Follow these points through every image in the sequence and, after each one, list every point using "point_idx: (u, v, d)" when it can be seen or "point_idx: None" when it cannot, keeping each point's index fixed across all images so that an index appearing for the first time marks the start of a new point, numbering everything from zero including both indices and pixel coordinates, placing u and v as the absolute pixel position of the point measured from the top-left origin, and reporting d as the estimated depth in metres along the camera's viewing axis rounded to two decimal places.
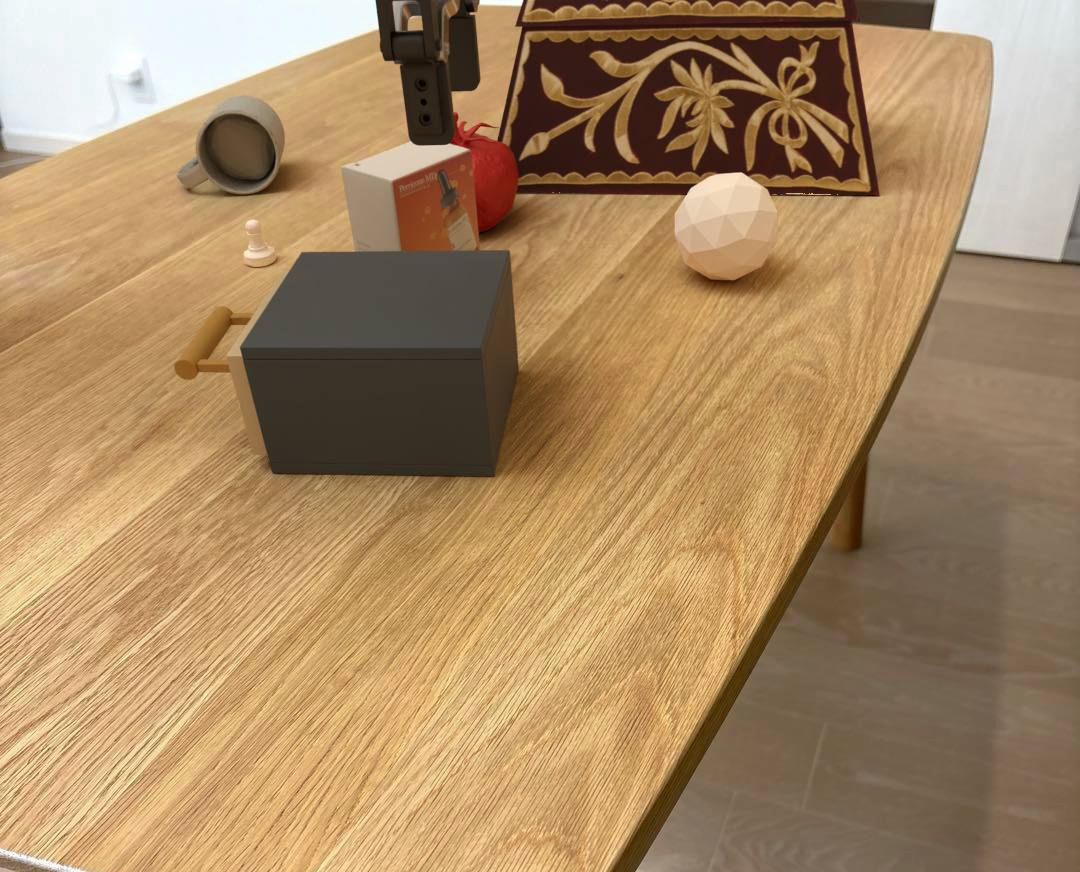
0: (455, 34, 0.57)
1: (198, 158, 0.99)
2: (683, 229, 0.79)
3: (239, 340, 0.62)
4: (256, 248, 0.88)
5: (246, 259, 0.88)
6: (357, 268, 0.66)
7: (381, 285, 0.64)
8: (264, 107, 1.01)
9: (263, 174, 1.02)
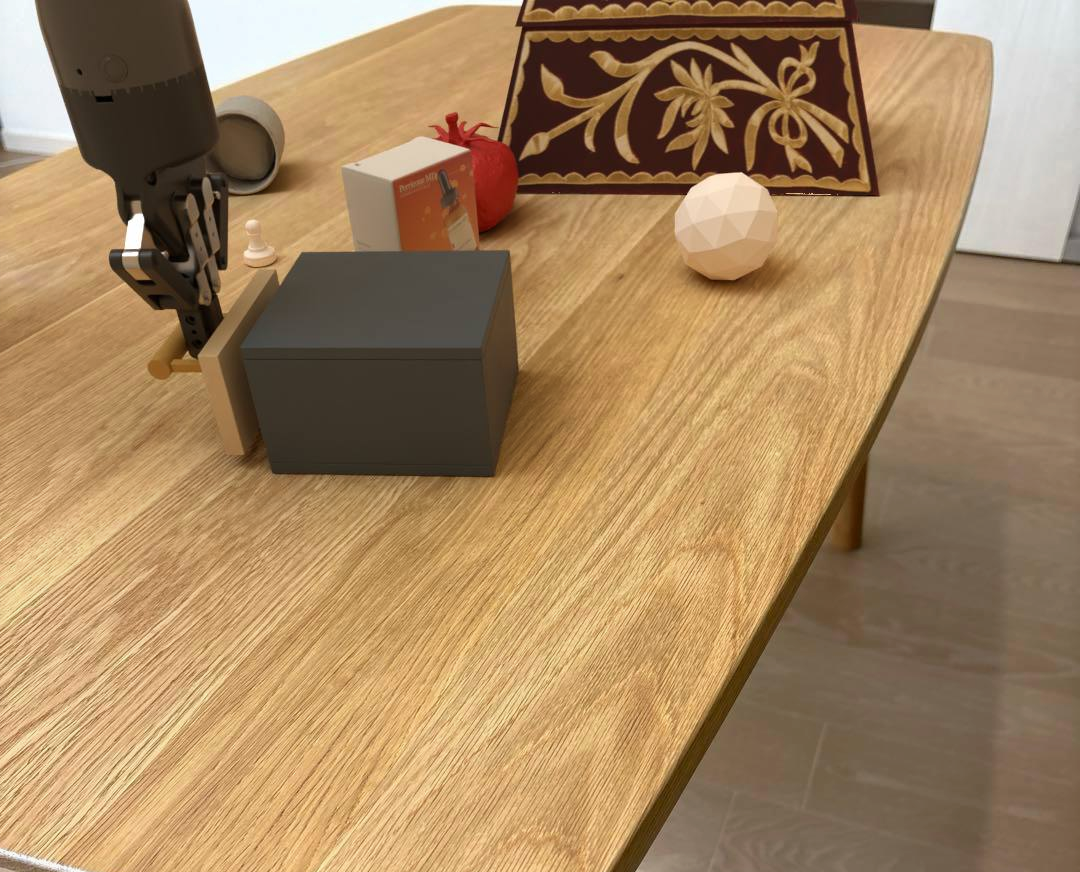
0: None
1: None
2: (683, 229, 0.79)
3: (211, 340, 0.62)
4: (256, 248, 0.88)
5: (246, 259, 0.88)
6: (357, 268, 0.66)
7: (381, 285, 0.64)
8: (264, 107, 1.01)
9: (263, 174, 1.02)
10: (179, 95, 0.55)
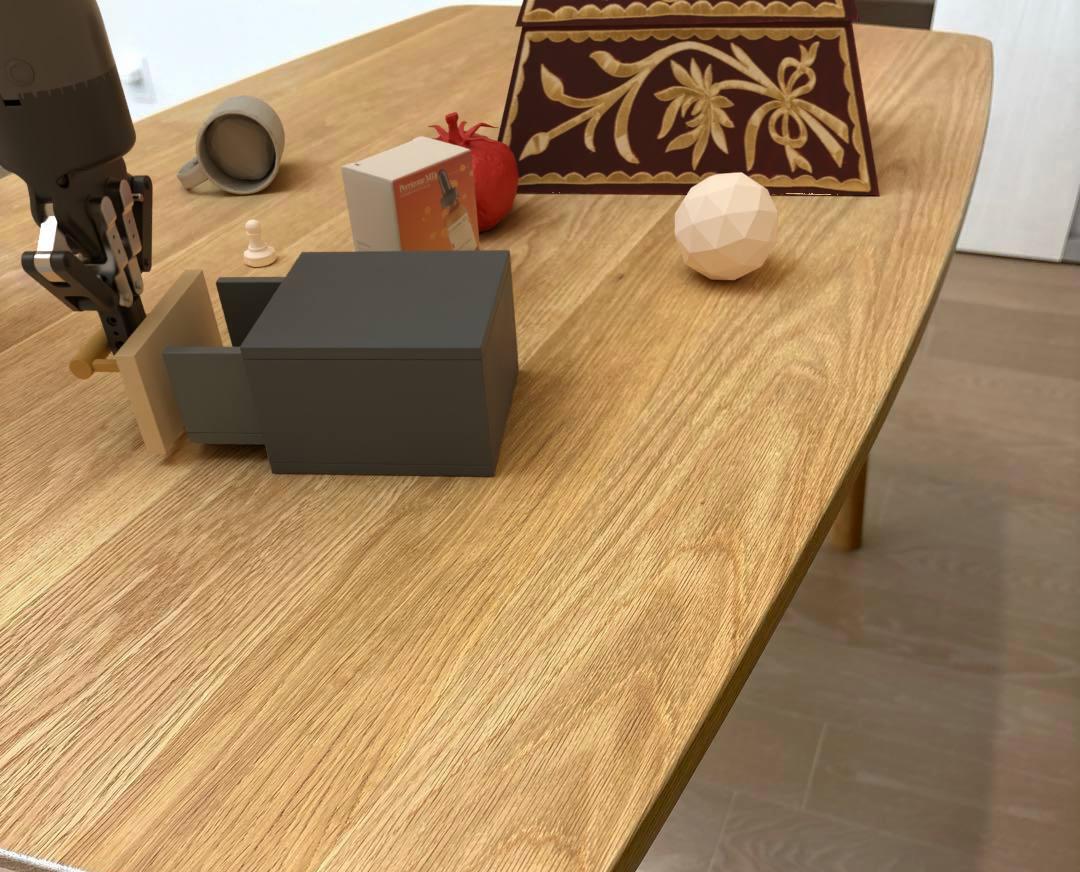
0: None
1: (198, 158, 0.99)
2: (683, 229, 0.79)
3: (130, 340, 0.62)
4: (256, 248, 0.88)
5: (246, 259, 0.88)
6: (357, 268, 0.66)
7: (381, 285, 0.64)
8: (264, 107, 1.01)
9: (263, 174, 1.02)
10: (88, 99, 0.56)
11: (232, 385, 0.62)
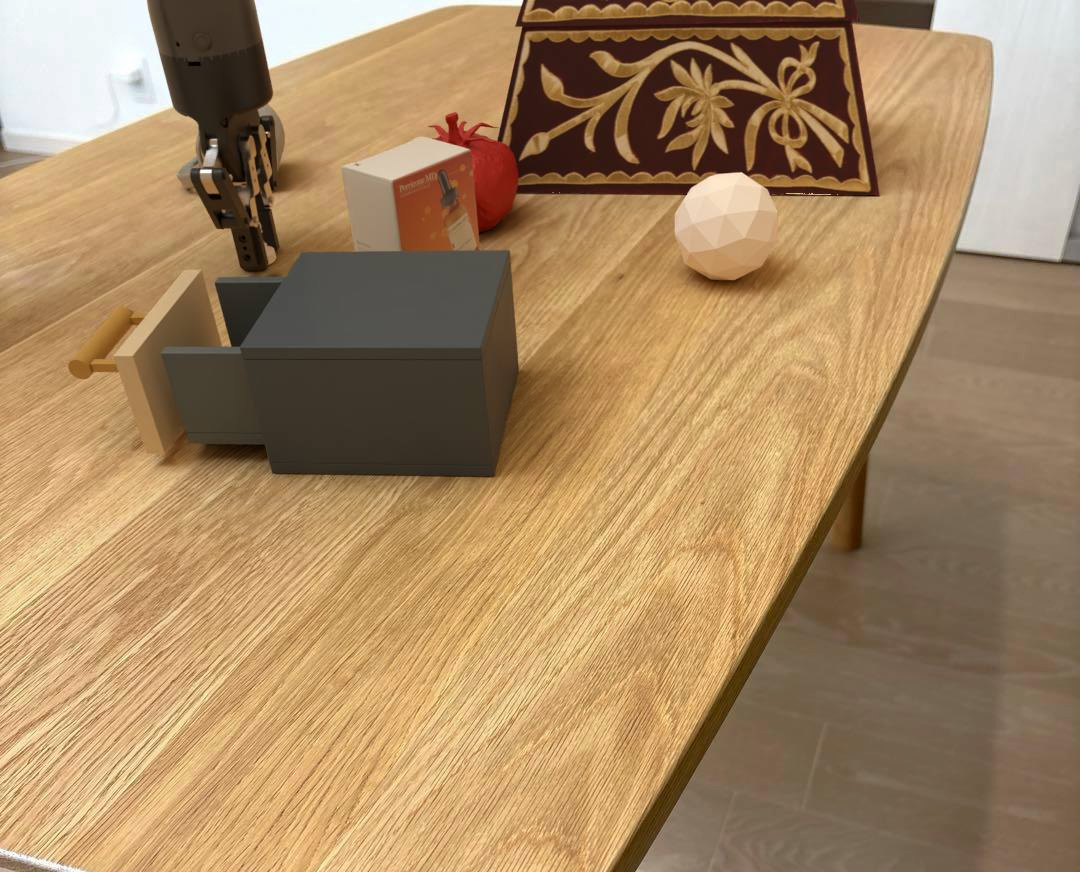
0: (258, 221, 0.88)
1: (198, 158, 0.99)
2: (683, 229, 0.79)
3: (128, 340, 0.62)
4: None
5: None
6: (357, 268, 0.66)
7: (381, 285, 0.64)
8: (264, 107, 1.01)
9: None
10: (246, 62, 0.77)
11: (231, 385, 0.62)
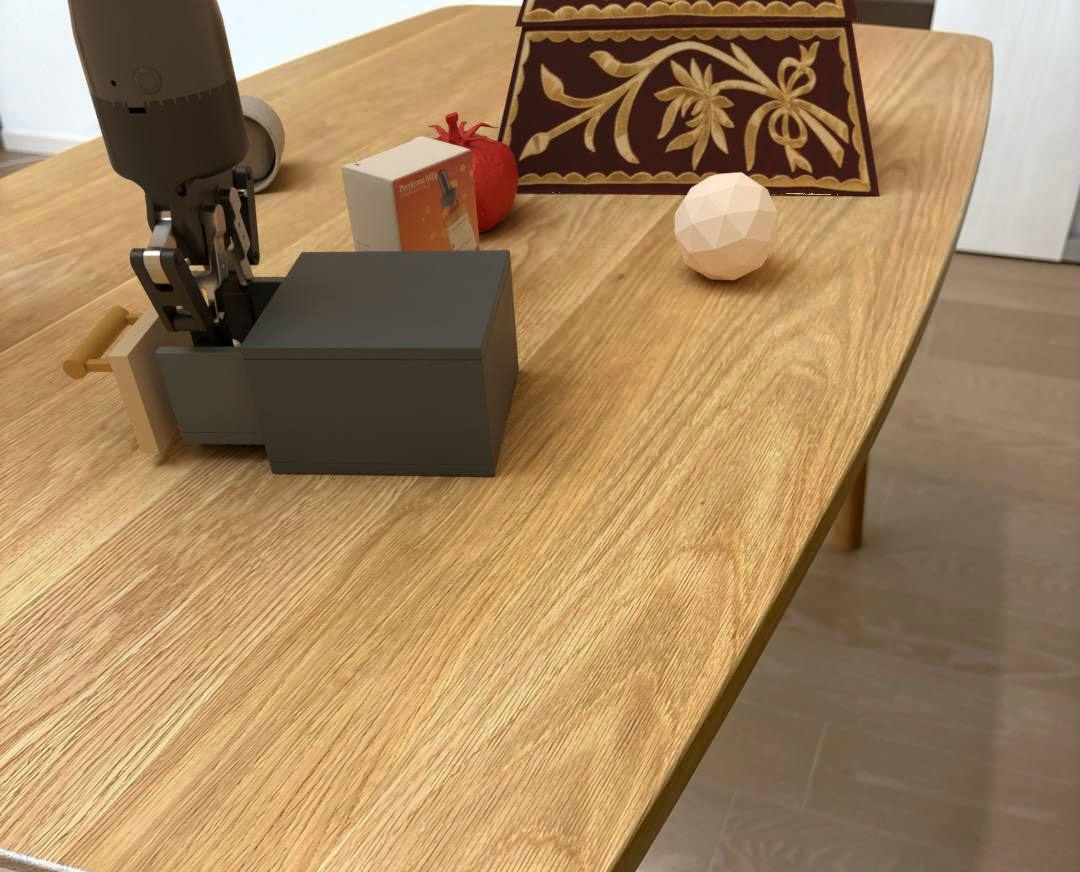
0: (233, 305, 0.67)
1: None
2: (683, 229, 0.79)
3: (123, 340, 0.63)
4: None
5: None
6: (357, 268, 0.66)
7: (381, 285, 0.64)
8: (264, 107, 1.01)
9: (263, 174, 1.02)
10: (211, 107, 0.55)
11: (225, 385, 0.62)
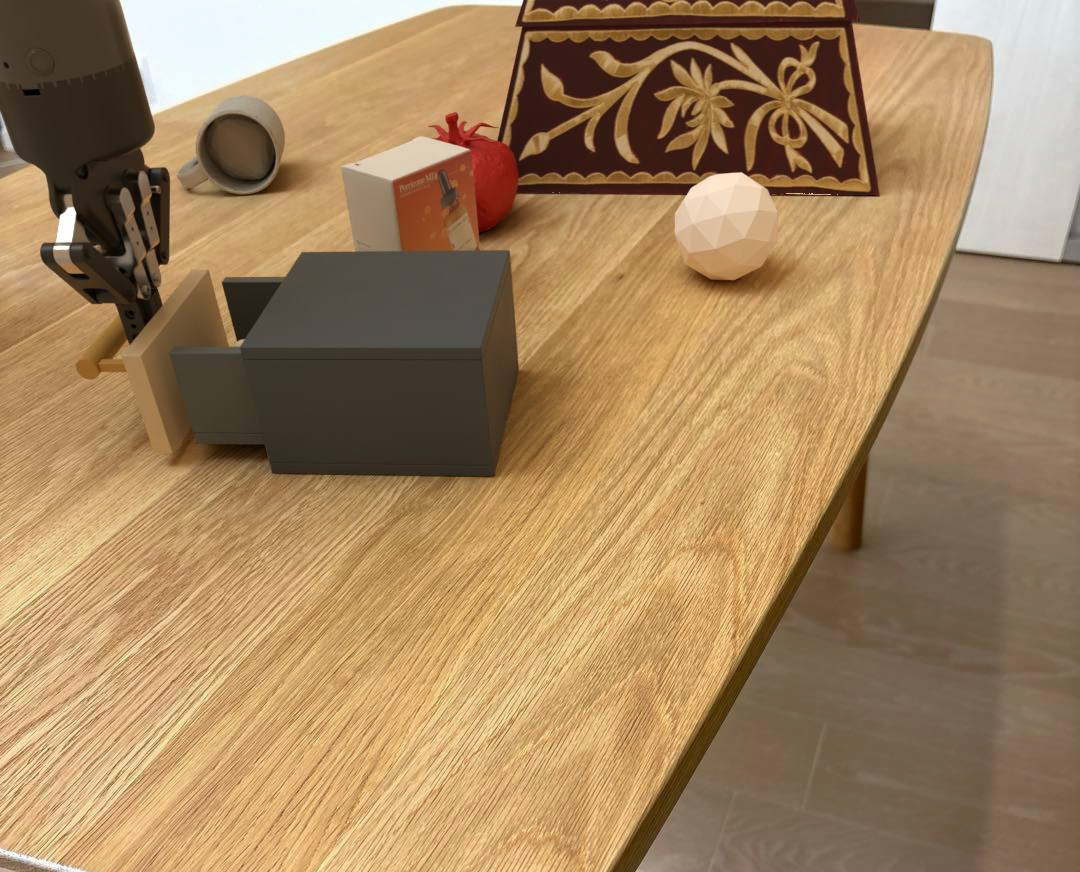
0: None
1: (198, 158, 0.99)
2: (683, 229, 0.79)
3: (136, 340, 0.62)
4: None
5: None
6: (357, 268, 0.66)
7: (381, 285, 0.64)
8: (264, 107, 1.01)
9: (263, 174, 1.02)
10: (108, 88, 0.55)
11: (239, 385, 0.62)
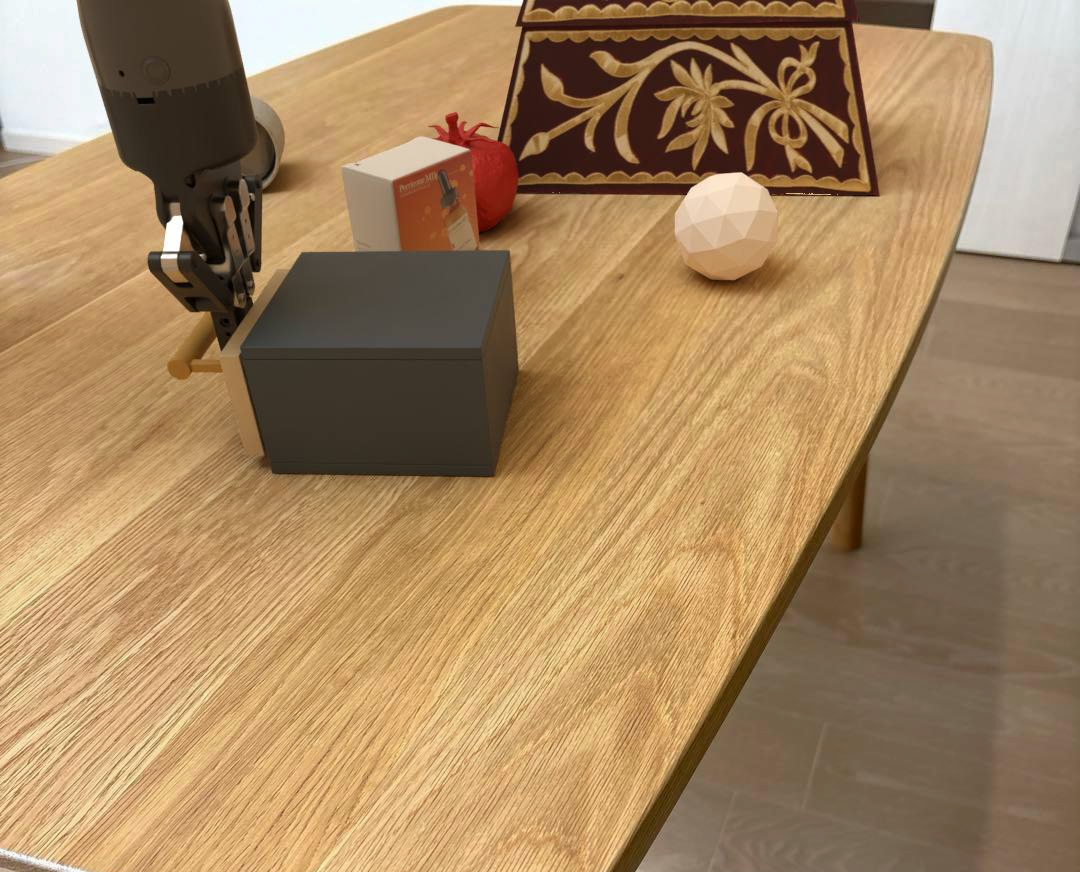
0: None
1: None
2: (683, 229, 0.79)
3: (232, 340, 0.62)
4: None
5: None
6: (357, 268, 0.66)
7: (381, 285, 0.64)
8: (264, 107, 1.01)
9: (263, 174, 1.02)
10: (220, 97, 0.55)
11: None
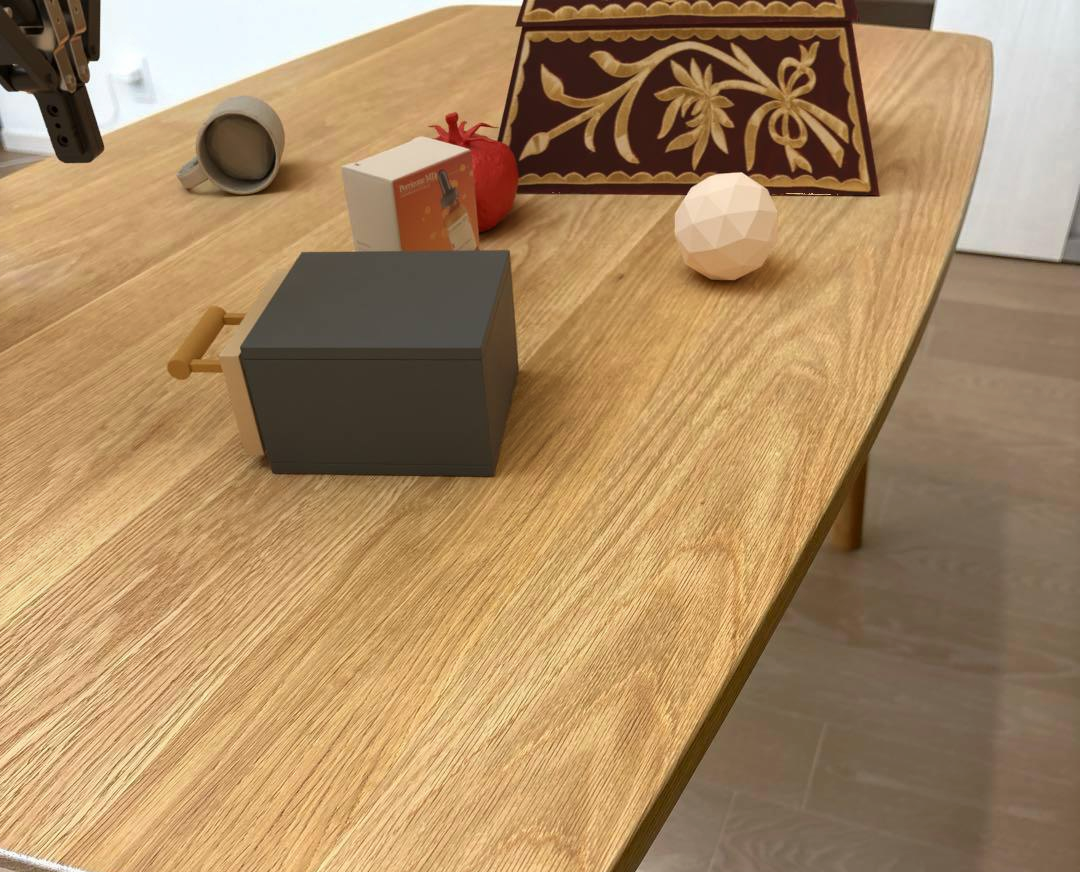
0: None
1: (198, 158, 0.99)
2: (683, 229, 0.79)
3: (231, 340, 0.62)
4: None
5: None
6: (357, 268, 0.66)
7: (381, 285, 0.64)
8: (264, 107, 1.01)
9: (263, 174, 1.02)
10: None
11: None
